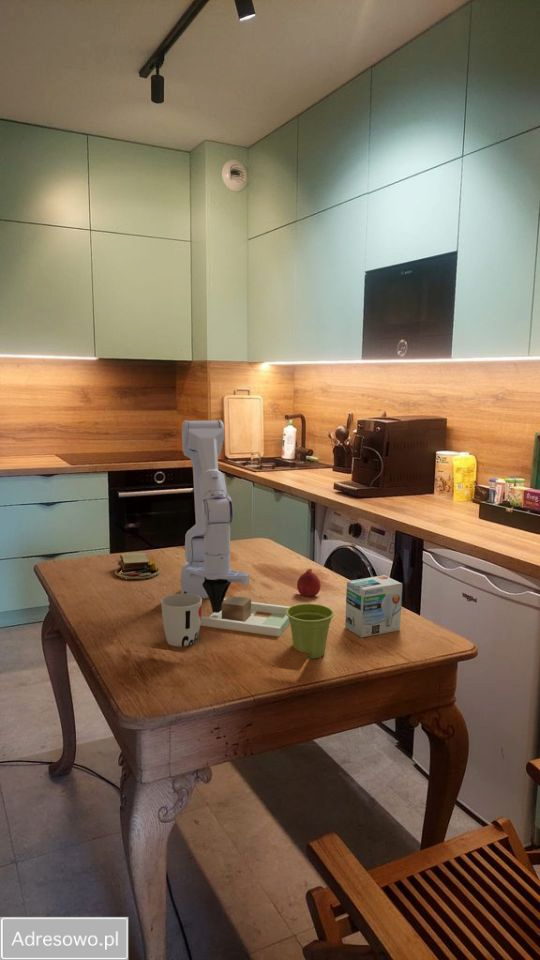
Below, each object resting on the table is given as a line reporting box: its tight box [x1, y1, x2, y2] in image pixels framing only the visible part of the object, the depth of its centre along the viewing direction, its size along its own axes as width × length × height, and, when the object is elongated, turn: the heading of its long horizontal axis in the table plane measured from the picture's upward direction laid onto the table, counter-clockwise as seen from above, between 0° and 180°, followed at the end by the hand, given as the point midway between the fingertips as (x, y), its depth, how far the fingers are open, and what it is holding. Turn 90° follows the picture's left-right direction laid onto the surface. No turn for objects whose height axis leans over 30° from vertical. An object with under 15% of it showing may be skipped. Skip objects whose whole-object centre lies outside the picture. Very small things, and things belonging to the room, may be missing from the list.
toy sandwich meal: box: [114, 551, 162, 580], centre depth 178 cm, size 12×14×5 cm
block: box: [222, 595, 252, 622], centre depth 142 cm, size 5×5×4 cm
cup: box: [160, 592, 203, 653], centre depth 129 cm, size 8×8×10 cm
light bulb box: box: [344, 574, 403, 638], centre depth 140 cm, size 11×7×11 cm, turn 117°
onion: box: [296, 567, 322, 598], centre depth 158 cm, size 6×6×8 cm
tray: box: [200, 597, 291, 637], centre depth 141 cm, size 18×13×3 cm
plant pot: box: [286, 603, 335, 660], centre depth 127 cm, size 9×9×9 cm
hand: (217, 611), depth 143 cm, fingers closed
